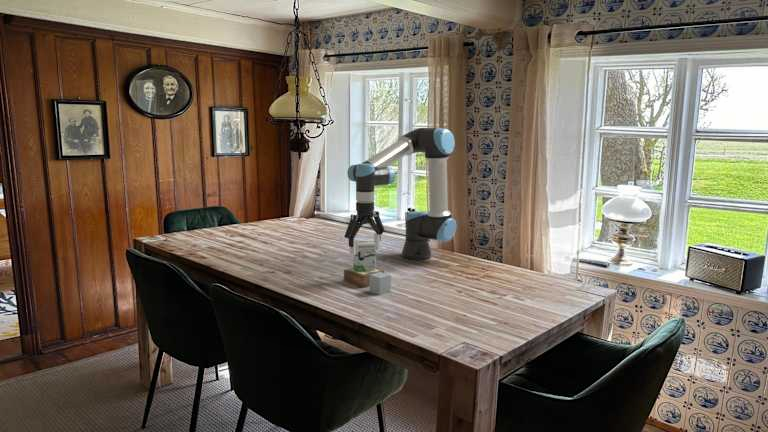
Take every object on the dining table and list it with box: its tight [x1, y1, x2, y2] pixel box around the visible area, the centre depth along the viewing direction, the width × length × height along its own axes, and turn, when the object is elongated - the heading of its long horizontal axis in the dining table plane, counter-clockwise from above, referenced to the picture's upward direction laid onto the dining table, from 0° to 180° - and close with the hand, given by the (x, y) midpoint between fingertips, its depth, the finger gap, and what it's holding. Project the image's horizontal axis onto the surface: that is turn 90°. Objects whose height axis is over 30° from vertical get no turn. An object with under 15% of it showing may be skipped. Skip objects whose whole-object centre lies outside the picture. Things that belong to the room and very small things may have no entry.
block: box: [368, 272, 392, 296], centre depth 212 cm, size 6×6×7 cm
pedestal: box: [343, 267, 385, 289], centre depth 224 cm, size 12×12×5 cm
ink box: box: [352, 240, 377, 272], centre depth 223 cm, size 9×5×12 cm, turn 105°
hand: (365, 251), depth 223 cm, fingers open, 13 cm apart
